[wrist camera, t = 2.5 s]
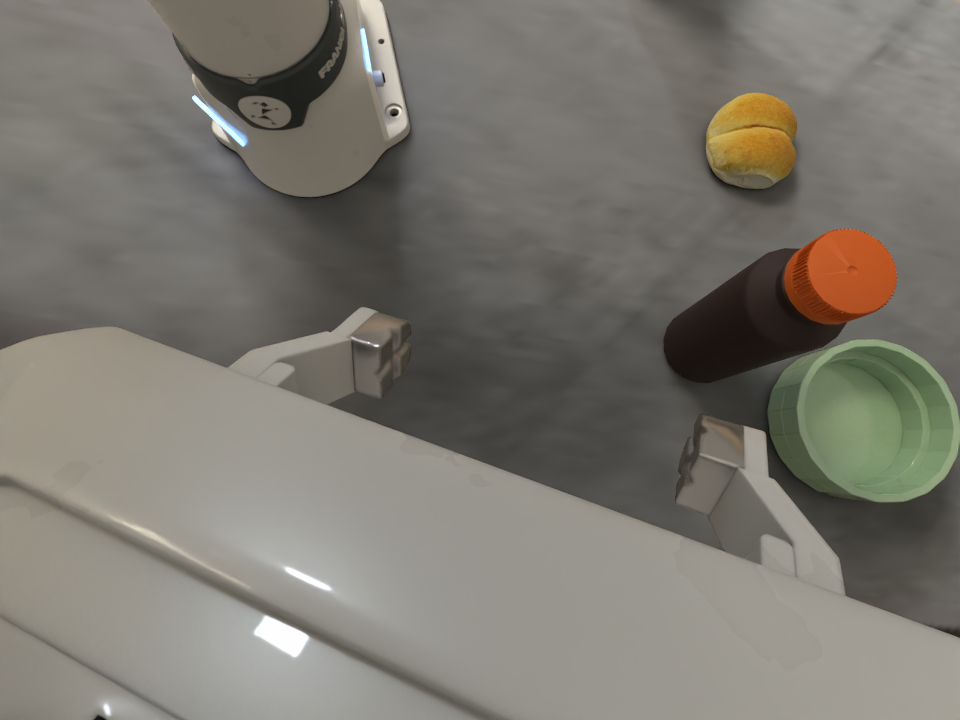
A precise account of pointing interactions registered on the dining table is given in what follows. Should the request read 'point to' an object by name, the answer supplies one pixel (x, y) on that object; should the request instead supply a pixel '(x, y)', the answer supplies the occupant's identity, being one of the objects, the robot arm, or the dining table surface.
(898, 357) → the bowl
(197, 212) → the dining table surface
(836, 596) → the robot arm
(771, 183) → the bread roll
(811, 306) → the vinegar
